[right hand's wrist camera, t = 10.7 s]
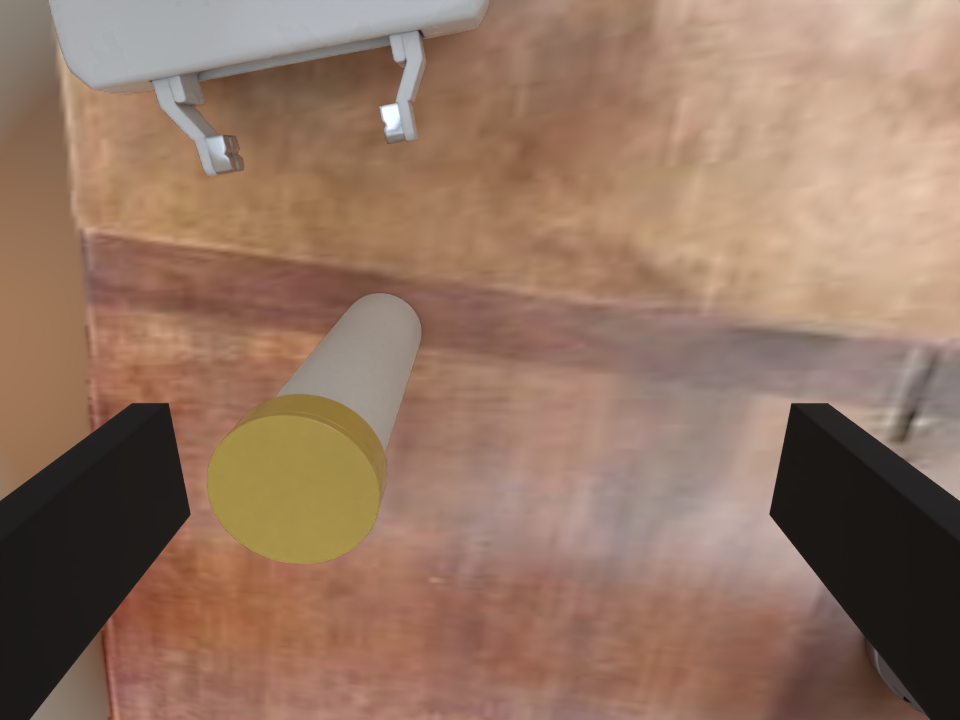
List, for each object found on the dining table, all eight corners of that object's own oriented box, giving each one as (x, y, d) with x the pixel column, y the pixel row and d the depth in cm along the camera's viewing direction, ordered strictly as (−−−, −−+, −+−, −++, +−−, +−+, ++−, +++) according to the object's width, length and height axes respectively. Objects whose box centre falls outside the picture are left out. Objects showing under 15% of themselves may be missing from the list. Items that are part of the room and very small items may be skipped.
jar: (352, 373, 41) (246, 555, 23) (334, 299, 39) (204, 431, 21) (428, 362, 41) (383, 538, 22) (413, 287, 39) (352, 411, 21)
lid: (253, 541, 24) (234, 573, 22) (207, 405, 22) (183, 428, 20) (401, 523, 24) (394, 553, 22) (369, 382, 22) (359, 404, 20)
